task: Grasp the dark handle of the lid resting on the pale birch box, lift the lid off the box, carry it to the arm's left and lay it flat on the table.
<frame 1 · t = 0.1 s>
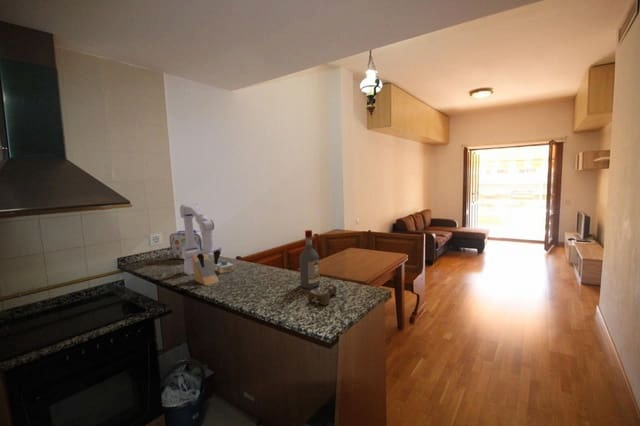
hand: (209, 265, 175), 10 cm above the countertop, fingers open, 7 cm apart
lunch box: (190, 258, 231), on the countertop
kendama: (322, 301, 147), on the countertop
box: (224, 270, 198), on the countertop
liquor: (310, 285, 168), on the countertop
lid: (224, 266, 198), point 3 cm above the countertop, touching box
sandwich container: (206, 281, 180), on the countertop
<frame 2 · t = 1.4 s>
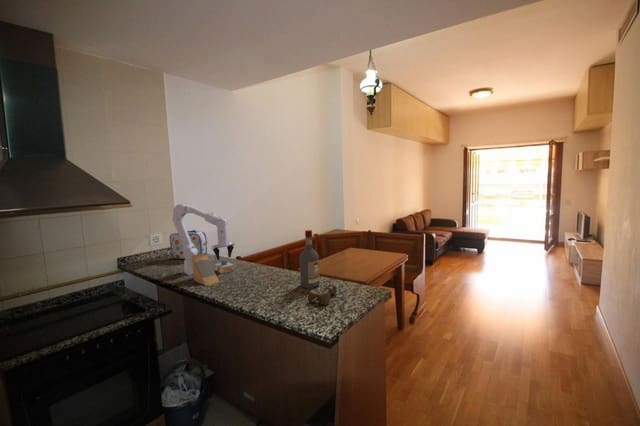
hand: (223, 258, 197), 8 cm above the countertop, fingers open, 7 cm apart
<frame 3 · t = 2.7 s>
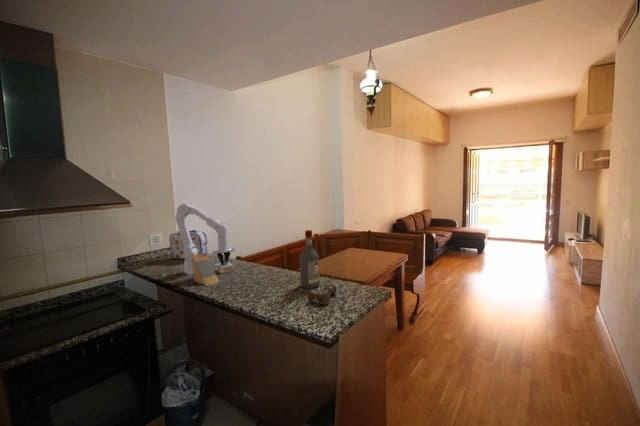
hand: (224, 264, 197), 4 cm above the countertop, fingers closed on lid, 2 cm apart
lid: (224, 266, 198), point 3 cm above the countertop, touching box, gripper
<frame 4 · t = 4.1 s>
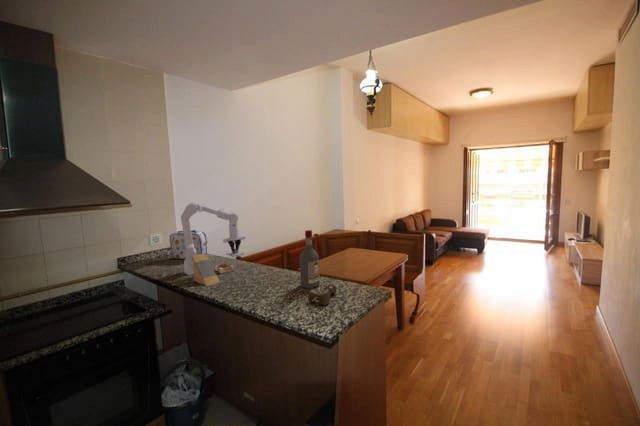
hand: (235, 251, 205), 10 cm above the countertop, fingers closed on lid, 2 cm apart
lid: (235, 254, 205), point 9 cm above the countertop, touching gripper
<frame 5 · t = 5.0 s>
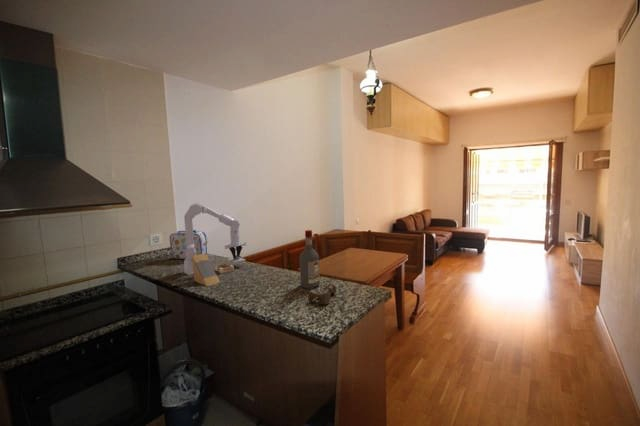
hand: (236, 257, 206), 6 cm above the countertop, fingers closed on lid, 2 cm apart
lid: (236, 260, 206), point 4 cm above the countertop, touching gripper
when the fingers open (4 cm above the countertop, at t = 5.6 s): lid drops 2 cm, on the countertop.
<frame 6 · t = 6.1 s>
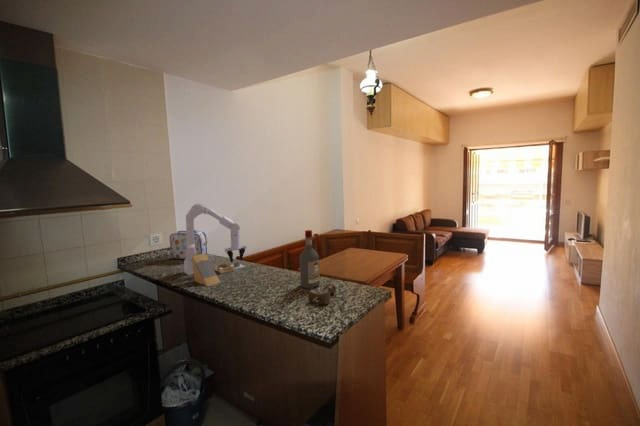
hand: (236, 260, 206), 4 cm above the countertop, fingers open, 6 cm apart
lid: (236, 267, 207), on the countertop
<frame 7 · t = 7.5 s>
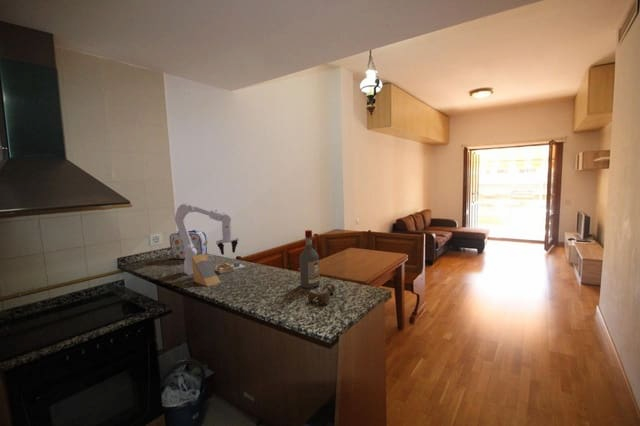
hand: (228, 253, 201), 10 cm above the countertop, fingers open, 7 cm apart
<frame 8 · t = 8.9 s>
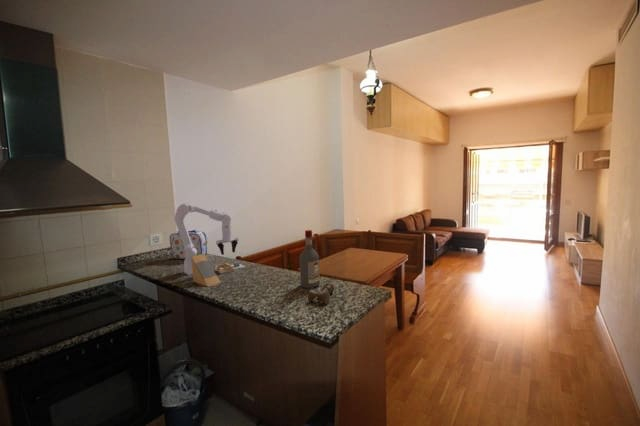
hand: (228, 253, 201), 10 cm above the countertop, fingers open, 7 cm apart
at the end: lid inside the target area (0.1 cm from its centre), on the countertop; lid tilted 0°; lid touching countertop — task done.
